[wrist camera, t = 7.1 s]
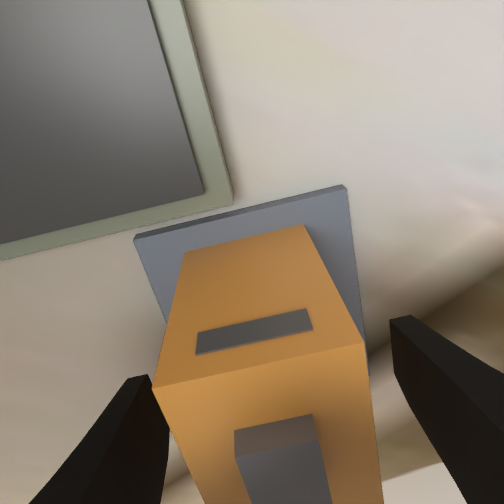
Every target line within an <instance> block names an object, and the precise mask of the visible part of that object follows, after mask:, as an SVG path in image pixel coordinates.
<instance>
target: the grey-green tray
mask: <svg viewBox="0 0 504 504" xmlns="http://www.w3.org/2000/svg"><path fill="white" fill-rule="evenodd" d="M232 204H234V197H233V190H232V186H231V182H230V178H229V174H228V171H227V167H226V163H225V159H224V155H223V152H222V148H221V144H220V140H219V136H218V133H217V129H216V125H215V121H214V117H213V113H212V110H211V106H210V102H209V98H208V94H207V91H206V87H205V83H204V79H203V75H202V72H201V68H200V64H199V60H198V56H197V53H196V49H195V45H194V41H193V37H192V34H191V30H190V26H189V22H188V18H187V15H186V11H185V7H184V3H183V0H0V261H2V260H6V259H10V258H14V257H18V256H22V255H27V254H31V253H35V252H39V251H43V250H47V249H51V248H55V247H59V246H64V245H68V244H72V243H76V242H80V241H84V240H88V239H92V238H97V237H101V236H105V235H109V234H113V233H117V232H121V231H125V230H129V229H134V228H138V227H142V226H146V225H150V224H154V223H158V222H162V221H167V220H171V219H175V218H179V217H183V216H187V215H191V214H195V213H199V212H204V211H208V210H212V209H216V208H220V207H224V206H228V205H232Z"/></svg>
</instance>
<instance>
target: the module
mask: <svg viewBox="0 0 504 504" xmlns="http://www.w3.org/2000/svg"><path fill="white" fill-rule="evenodd" d="M152 391H153V393H154V395H155V397H156V399H157V402H158V404H159V406H160V408H161V410H162V412H163V414H164V417H165V419H166V421H167V423H168V425H169V427H170V430H171V432H172V434H173V436H174V438H175V440H176V442H177V445H178V447H179V449H180V451H181V453H182V455H183V457H184V460H185V462H186V464H187V466H188V468H189V470H190V472H191V475H192V477H193V479H194V481H195V483H196V485H197V487H198V490H199V492H200V494H201V496H202V498H203V500H204V502H205V504H384V500H383V492H382V483H381V475H380V467H379V459H378V451H377V443H376V434H375V426H374V418H373V410H372V402H371V394H370V386H369V377H368V369H367V361H366V353H365V345H364V341H363V339H362V337H361V335H360V333H359V331H358V329H357V327H356V325H355V323H354V322H353V320H352V318H351V316H350V314H349V312H348V310H347V308H346V306H345V304H344V302H343V300H342V298H341V296H340V294H339V292H338V290H337V288H336V286H335V285H334V283H333V281H332V279H331V277H330V275H329V273H328V271H327V269H326V267H325V265H324V263H323V261H322V259H321V257H320V255H319V253H318V251H317V249H316V248H315V246H314V244H313V242H312V240H311V238H310V236H309V234H308V232H307V230H306V228H305V226H304V224H301V225H297V226H293V227H289V228H284V229H280V230H276V231H271V232H267V233H263V234H259V235H254V236H250V237H246V238H242V239H237V240H233V241H229V242H225V243H220V244H216V245H212V246H208V247H203V248H199V249H195V250H190V251H186V252H185V253H184V257H183V261H182V265H181V269H180V273H179V277H178V282H177V286H176V290H175V294H174V298H173V302H172V306H171V311H170V315H169V319H168V323H167V327H166V331H165V335H164V340H163V344H162V348H161V352H160V356H159V360H158V365H157V369H156V373H155V377H154V381H153V385H152Z"/></svg>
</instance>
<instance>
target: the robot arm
mask: <svg viewBox="0 0 504 504" xmlns="http://www.w3.org/2000/svg"><path fill="white" fill-rule="evenodd" d="M389 321H390V333H391V344H392V355H393V367H394V374H395V376H396V378H397V381H398V383H399V385H400V387H401V389H402V392H403V394H404V396H405V398H406V400H407V402H408V404H409V406H410V408H411V410H412V411H413V413H414V415H415V416H416V418H417V420H418V421H419V423H420V425H421V426H422V428H423V430H424V431H425V433H426V435H427V436H428V438H429V440H430V441H431V443H432V445H433V446H434V448H435V450H436V451H437V453H438V455H439V456H440V458H441V459H442V461H443V463H444V464H445V466H446V468H447V469H448V471H449V473H450V474H451V476H452V477H453V479H454V481H455V482H456V484H457V486H458V488H459V490H460V491H461V493H462V495H463V497H464V499H465V500H466V502H467V504H504V374H503V373H501V372H500V371H498V370H496V369H494V368H493V367H491V366H489V365H487V364H486V363H484V362H482V361H481V360H479V359H478V358H476V357H474V356H473V355H471V354H469V353H468V352H466V351H465V350H463V349H461V348H460V347H458V346H457V345H455V344H454V343H452V342H451V341H449V340H448V339H446V338H445V337H443V336H441V335H440V334H438V333H437V332H436V331H434V330H433V329H431V328H430V327H428V326H427V325H425V324H424V323H422V322H421V321H419V320H418V319H416V318H415V317H413V316H411V315H408V316H403V317H399V318H394V319H390V320H389ZM169 432H170V427H169V425H168V423H167V421H166V419H165V417H164V414H163V412H162V410H161V408H160V406H159V404H158V402H157V399H156V397H155V395H154V393H153V391H152V382H151V380H150V378H149V376H148V374H145V375H141V376H136V377H132V378H128V379H127V380H126V381H125V383H124V384H123V385H122V387H121V388H120V389H119V391H118V392H117V393H116V395H115V396H114V397H113V399H112V400H111V402H110V403H109V404H108V406H107V407H106V408H105V410H104V411H103V413H102V414H101V415H100V417H99V418H98V419H97V421H96V422H95V423H94V425H93V426H92V427H91V429H90V430H89V431H88V433H87V434H86V435H85V437H84V438H83V439H82V441H81V442H80V443H79V445H78V446H77V447H76V448H75V449H74V451H73V452H72V453H71V454H70V456H69V457H68V458H67V459H66V461H65V462H64V463H63V464H62V466H61V467H60V468H59V469H58V471H57V472H56V473H55V474H54V475H53V477H52V478H51V479H50V480H49V481H48V483H47V484H46V485H45V486H44V487H43V488H42V490H41V491H40V492H39V493H38V494H37V495H36V496H35V497H34V499H33V500H32V501H31V502H30V503H29V504H160V502H161V497H162V491H163V485H164V479H165V473H166V467H167V461H168V451H169Z"/></svg>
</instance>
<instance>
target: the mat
mask: <svg viewBox="0 0 504 504" xmlns="http://www.w3.org/2000/svg"><path fill="white" fill-rule="evenodd" d="M301 224H304V226H305V228H306V230H307V232H308V234H309V236H310V238H311V240H312V242H313V244H314V246H315V248H316V249H317V251H318V253H319V255H320V257H321V259H322V261H323V263H324V265H325V267H326V269H327V271H328V273H329V275H330V277H331V279H332V281H333V283H334V285H335V286H336V288H337V290H338V292H339V294H340V296H341V298H342V300H343V302H344V304H345V306H346V308H347V310H348V312H349V314H350V316H351V318H352V320H353V322H354V323H355V325H356V327H357V329H358V331H359V333H360V335H361V337H362V339H363V341H364V345H365V353H366V361H367V369H368V376H370V372H369V364H368V356H367V349H366V341H365V333H364V325H363V317H362V309H361V301H360V293H359V285H358V277H357V269H356V261H355V253H354V245H353V238H352V230H351V222H350V214H349V206H348V198H347V190H346V188H345V187H344V186H343V185H338V186H334V187H330V188H326V189H322V190H318V191H313V192H309V193H305V194H301V195H297V196H293V197H289V198H284V199H280V200H276V201H272V202H268V203H264V204H260V205H256V206H251V207H247V208H243V209H239V210H235V211H231V212H227V213H223V214H218V215H214V216H210V217H206V218H202V219H198V220H194V221H189V222H185V223H181V224H177V225H173V226H169V227H165V228H161V229H156V230H152V231H148V232H144V233H140V234H136V236H135V237H134V239H133V242H134V245H135V247H136V249H137V252H138V254H139V257H140V259H141V262H142V264H143V267H144V269H145V272H146V274H147V276H148V279H149V281H150V284H151V286H152V289H153V291H154V294H155V296H156V299H157V301H158V304H159V306H160V308H161V311H162V313H163V316H164V318H165V321H166V323H168V319H169V315H170V311H171V306H172V302H173V298H174V294H175V290H176V286H177V282H178V277H179V273H180V269H181V265H182V261H183V257H184V253H185V252H186V251H190V250H195V249H199V248H203V247H208V246H212V245H216V244H220V243H225V242H229V241H233V240H237V239H242V238H246V237H250V236H254V235H259V234H263V233H267V232H271V231H276V230H280V229H284V228H289V227H293V226H297V225H301Z"/></svg>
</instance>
